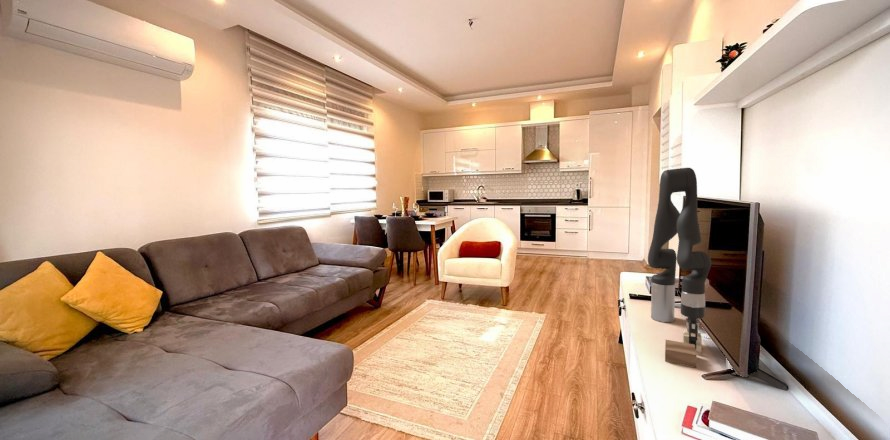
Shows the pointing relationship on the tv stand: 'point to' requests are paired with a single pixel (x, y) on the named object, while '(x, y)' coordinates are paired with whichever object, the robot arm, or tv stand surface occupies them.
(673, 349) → the walnut base block
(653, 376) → the tv stand surface
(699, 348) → the birch cube
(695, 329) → the robot arm
